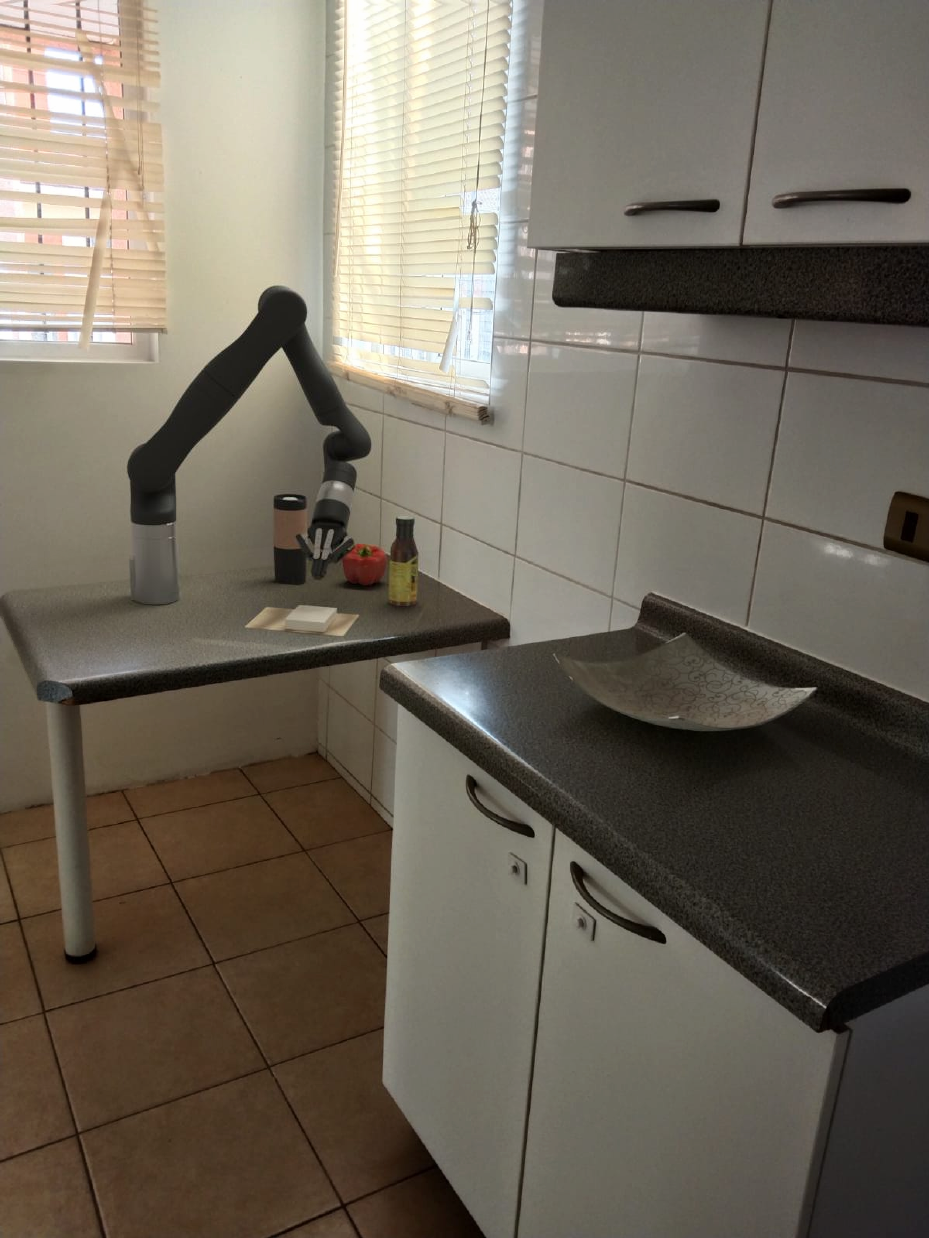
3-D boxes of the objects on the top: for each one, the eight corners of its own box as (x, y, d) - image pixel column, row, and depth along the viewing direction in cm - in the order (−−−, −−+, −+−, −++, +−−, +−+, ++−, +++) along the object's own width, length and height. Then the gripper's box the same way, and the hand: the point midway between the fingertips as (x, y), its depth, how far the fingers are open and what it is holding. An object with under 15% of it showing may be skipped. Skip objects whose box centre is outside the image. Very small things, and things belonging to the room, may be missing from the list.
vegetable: (390, 589, 233) (391, 547, 229) (345, 591, 230) (346, 548, 227) (381, 577, 243) (382, 536, 239) (338, 578, 240) (339, 537, 237)
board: (244, 631, 199) (244, 627, 199) (266, 611, 212) (266, 607, 212) (343, 640, 197) (343, 635, 196) (359, 619, 210) (359, 615, 210)
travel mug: (273, 576, 238) (272, 493, 232) (306, 576, 239) (306, 494, 233) (273, 585, 231) (273, 500, 225) (307, 585, 232) (307, 500, 226)
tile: (299, 614, 208) (284, 629, 199) (299, 604, 207) (284, 619, 198) (336, 617, 207) (324, 632, 198) (336, 608, 207) (324, 622, 197)
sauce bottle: (416, 611, 218) (419, 521, 212) (387, 609, 217) (389, 520, 211) (417, 602, 224) (420, 515, 218) (389, 601, 224) (391, 513, 218)
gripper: (299, 495, 210) (281, 566, 202) (361, 499, 208) (345, 571, 200) (306, 514, 216) (289, 584, 209) (366, 519, 215) (351, 589, 207)
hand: (317, 578), depth 204 cm, fingers closed
